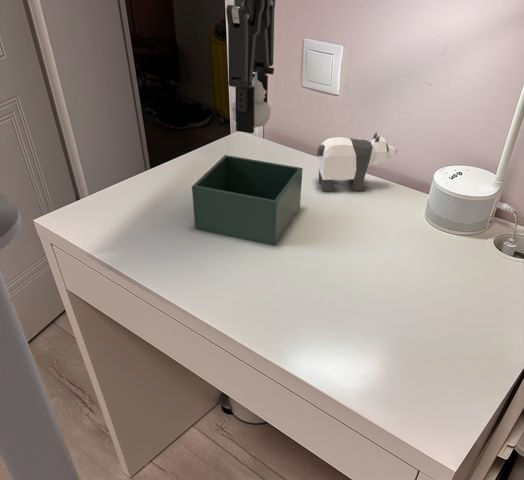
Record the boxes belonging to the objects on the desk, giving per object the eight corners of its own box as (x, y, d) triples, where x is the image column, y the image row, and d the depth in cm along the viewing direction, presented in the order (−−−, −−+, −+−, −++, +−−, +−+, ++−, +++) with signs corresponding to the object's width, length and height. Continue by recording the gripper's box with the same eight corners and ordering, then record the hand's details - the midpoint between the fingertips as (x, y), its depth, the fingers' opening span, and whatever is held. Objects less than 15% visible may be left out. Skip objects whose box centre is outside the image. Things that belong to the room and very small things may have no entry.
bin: (194, 228, 89) (191, 186, 84) (226, 194, 98) (224, 154, 93) (275, 245, 86) (276, 202, 80) (299, 208, 95) (302, 167, 90)
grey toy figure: (277, 129, 84) (279, 74, 79) (238, 135, 82) (238, 79, 77) (261, 118, 88) (263, 64, 82) (224, 123, 86) (223, 69, 80)
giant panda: (316, 192, 99) (321, 141, 93) (312, 179, 103) (316, 129, 97) (393, 190, 100) (403, 139, 94) (386, 178, 104) (395, 128, 98)
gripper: (256, -49, 62) (254, 149, 77) (301, -64, 75) (291, 109, 90) (196, -54, 63) (206, 142, 79) (250, -67, 76) (249, 103, 92)
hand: (251, 124), depth 85 cm, fingers closed on grey toy figure, 5 cm apart
